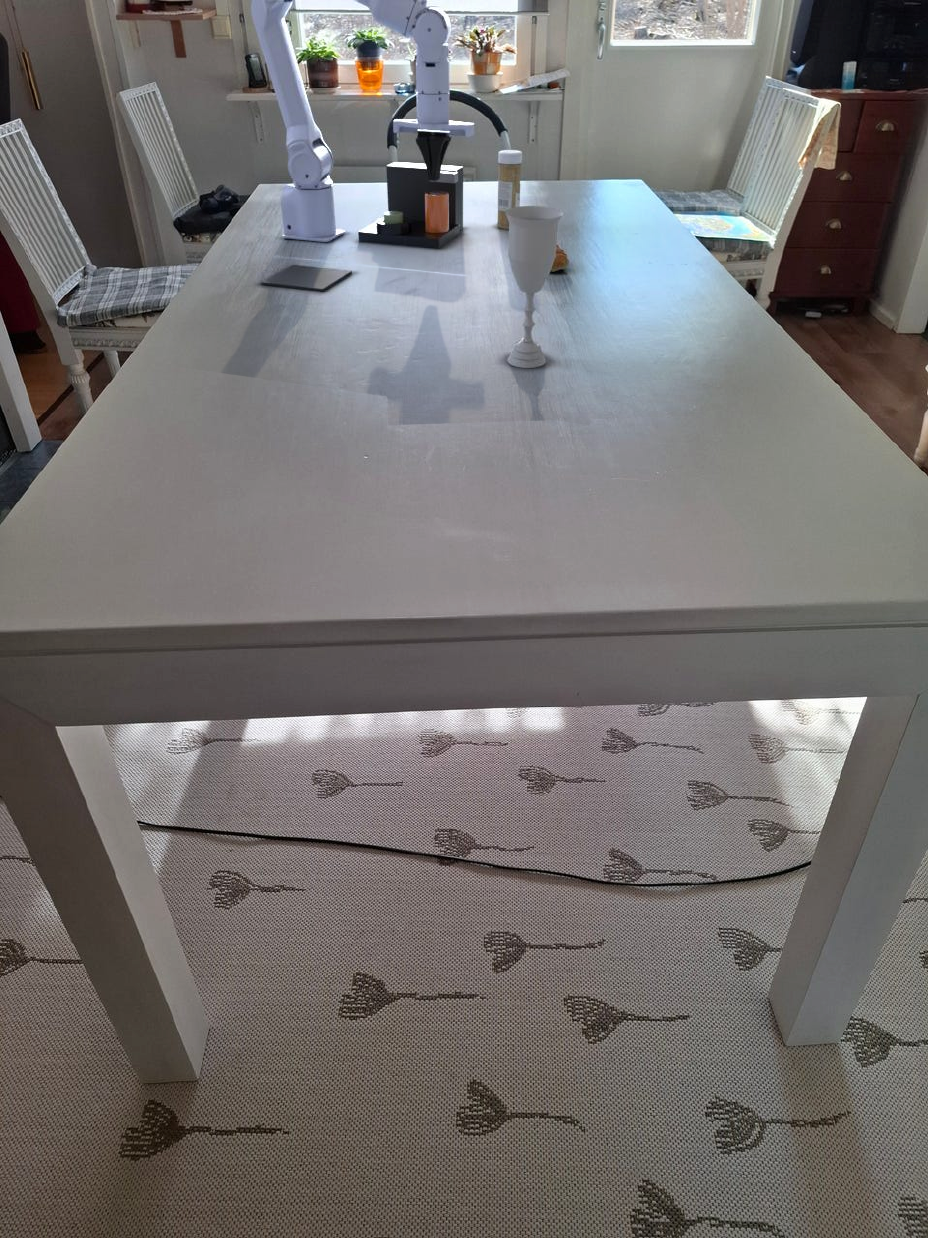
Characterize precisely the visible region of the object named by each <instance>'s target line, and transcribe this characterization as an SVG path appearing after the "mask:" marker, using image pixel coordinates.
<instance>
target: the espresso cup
mask: <svg viewBox="0 0 928 1238" xmlns="http://www.w3.org/2000/svg"><path fill="white" fill-rule="evenodd" d="M425 230H426V231H427V232H429V233H445V232H448V231H449V193H448V192H445V191H428V192H425Z"/></svg>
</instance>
